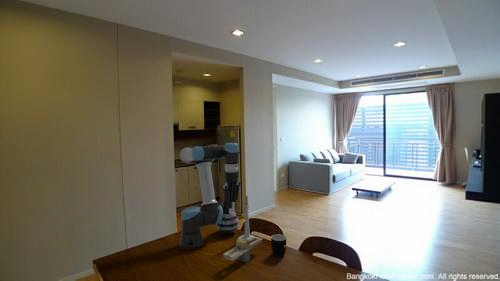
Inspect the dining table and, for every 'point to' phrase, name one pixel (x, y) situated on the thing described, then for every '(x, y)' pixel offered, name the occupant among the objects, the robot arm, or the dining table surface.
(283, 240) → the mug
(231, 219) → the vase
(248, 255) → the beam
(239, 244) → the rider
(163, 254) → the dining table surface
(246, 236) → the candlestick
